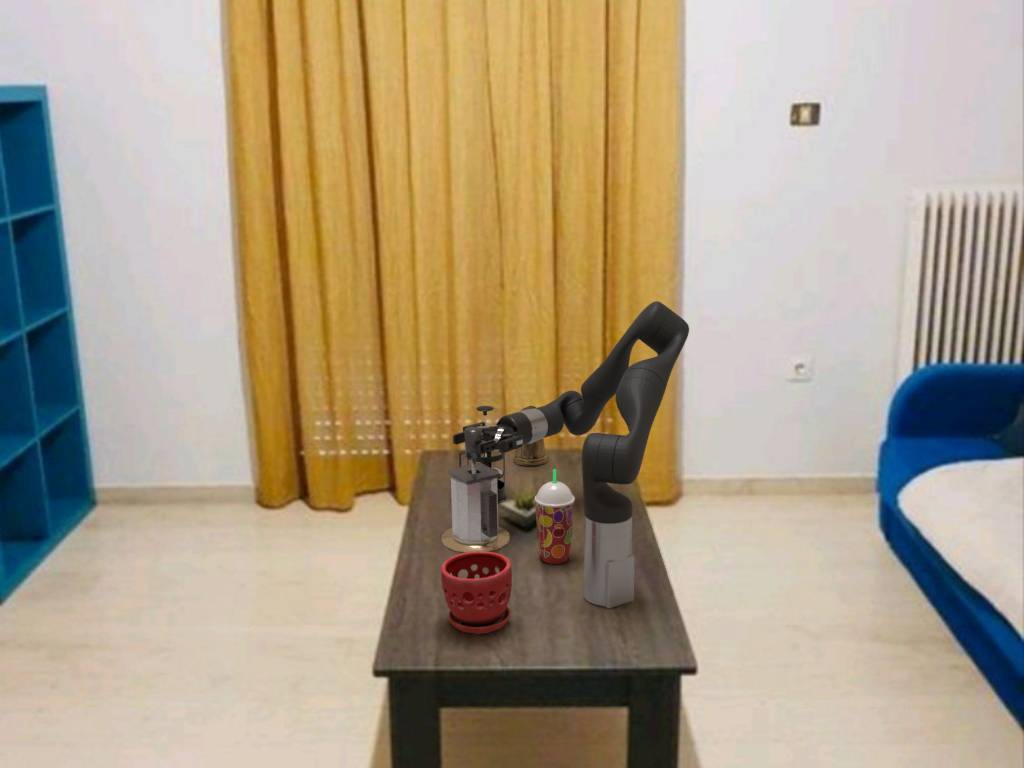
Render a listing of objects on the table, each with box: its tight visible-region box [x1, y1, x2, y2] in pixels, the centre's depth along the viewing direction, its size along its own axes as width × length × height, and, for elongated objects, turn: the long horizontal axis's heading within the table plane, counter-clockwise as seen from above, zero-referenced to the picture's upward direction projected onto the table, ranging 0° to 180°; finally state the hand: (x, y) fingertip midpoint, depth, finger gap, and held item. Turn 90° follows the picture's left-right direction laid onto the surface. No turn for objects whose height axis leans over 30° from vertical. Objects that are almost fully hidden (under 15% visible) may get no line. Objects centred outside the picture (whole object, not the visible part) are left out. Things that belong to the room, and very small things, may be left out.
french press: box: [458, 405, 507, 502], centre depth 264 cm, size 12×9×23 cm
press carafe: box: [441, 462, 511, 553], centre depth 241 cm, size 15×15×16 cm
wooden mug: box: [513, 405, 548, 467], centre depth 287 cm, size 9×14×18 cm, turn 0°
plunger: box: [464, 427, 483, 474], centre depth 240 cm, size 8×8×22 cm
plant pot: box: [440, 551, 513, 635], centre depth 205 cm, size 13×13×12 cm
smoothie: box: [534, 468, 576, 565], centre depth 230 cm, size 8×8×20 cm
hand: (466, 444), depth 236 cm, fingers open, 8 cm apart
